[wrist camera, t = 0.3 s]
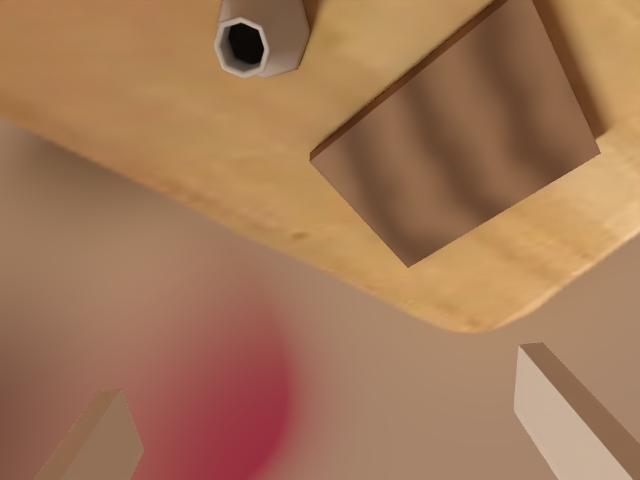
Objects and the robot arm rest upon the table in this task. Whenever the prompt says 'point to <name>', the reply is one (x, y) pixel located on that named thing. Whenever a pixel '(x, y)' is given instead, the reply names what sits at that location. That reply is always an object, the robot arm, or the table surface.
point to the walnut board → (460, 135)
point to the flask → (261, 36)
